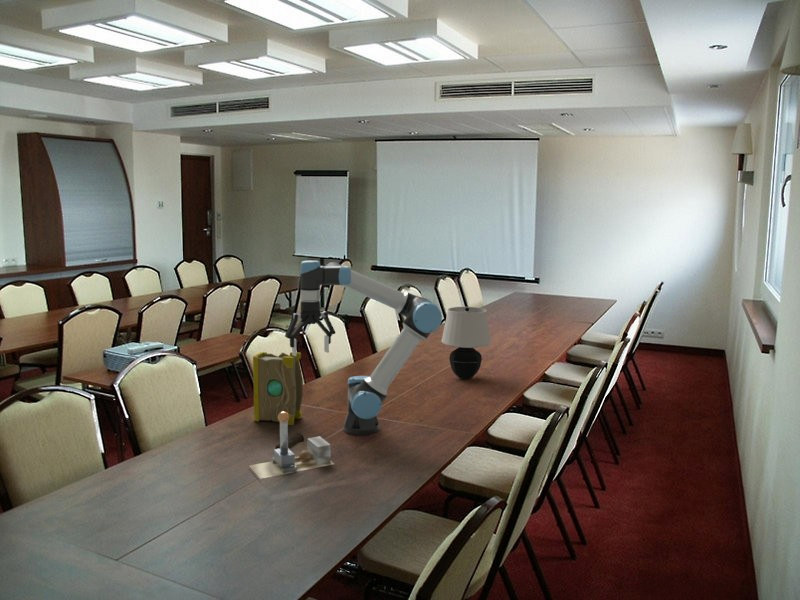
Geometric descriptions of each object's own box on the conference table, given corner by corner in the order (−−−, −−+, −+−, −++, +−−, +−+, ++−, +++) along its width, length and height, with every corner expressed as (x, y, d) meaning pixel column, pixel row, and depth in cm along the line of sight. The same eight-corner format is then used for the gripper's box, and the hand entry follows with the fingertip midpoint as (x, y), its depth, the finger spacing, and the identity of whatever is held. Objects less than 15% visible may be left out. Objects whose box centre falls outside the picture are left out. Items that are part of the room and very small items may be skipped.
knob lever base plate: (320, 455, 255) (320, 434, 254) (334, 467, 244) (334, 445, 242) (248, 469, 241) (248, 447, 240) (260, 482, 230) (259, 459, 229)
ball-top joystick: (284, 458, 247) (284, 405, 244) (296, 470, 237) (296, 415, 234) (271, 460, 245) (271, 407, 242) (283, 472, 234) (282, 417, 231)
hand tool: (295, 441, 270) (295, 430, 269) (304, 443, 268) (304, 432, 268) (268, 458, 253) (268, 446, 252) (277, 459, 251) (277, 448, 250)
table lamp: (464, 370, 386) (466, 301, 380) (499, 380, 366) (502, 308, 360) (430, 377, 369) (431, 306, 363) (465, 388, 349) (467, 313, 343)
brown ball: (309, 458, 248) (307, 447, 247) (313, 462, 244) (312, 451, 243) (297, 461, 246) (296, 450, 245) (302, 465, 242) (301, 454, 241)
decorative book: (251, 421, 292) (250, 354, 288) (262, 413, 303) (261, 349, 299) (294, 425, 288) (294, 358, 284) (304, 417, 299) (304, 352, 294)
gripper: (335, 297, 269) (335, 348, 272) (276, 301, 257) (277, 354, 260) (343, 299, 262) (343, 352, 266) (283, 303, 250) (283, 359, 253)
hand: (310, 353), depth 263 cm, fingers open, 13 cm apart
